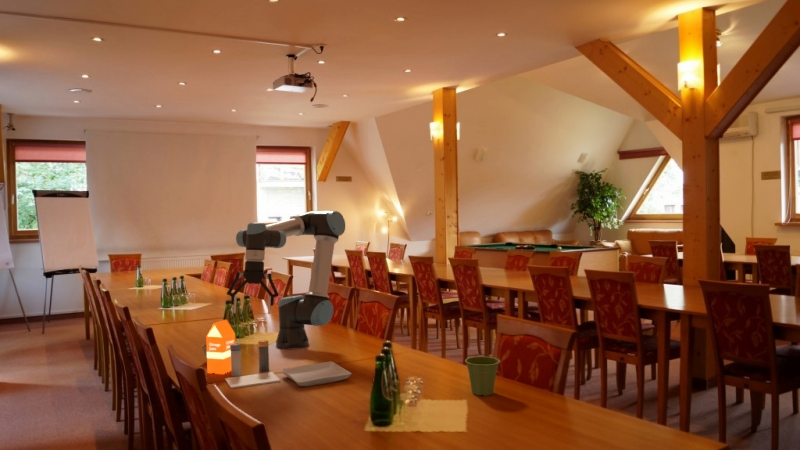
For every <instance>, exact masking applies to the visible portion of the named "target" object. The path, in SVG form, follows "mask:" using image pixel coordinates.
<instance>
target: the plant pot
mask: <svg viewBox="0 0 800 450" xmlns="http://www.w3.org/2000/svg"><path fill="white" fill-rule="evenodd" d="M464 362H465V363H466V368H467V370H468V376H469V382H470V388H471V394H473V395H476V396H485V397H487V396H492V395H493V394H494V390H495V385H496V384H495V383H496V379H497V373H498V368H499V364H500V363H501V360H500V359H499V358H496V357H491V356H483V355H482V356H471V357H467V358H466V359H465V360H464ZM491 394H492V395H491Z"/></svg>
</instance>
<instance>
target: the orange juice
mask: <svg viewBox="0 0 800 450" xmlns="http://www.w3.org/2000/svg"><path fill="white" fill-rule="evenodd" d="M205 340H206V343H205V344H207V358H206V367H207V371H206V372H207V374H212V373H215V375H225V373H226V374H228V373H230V372H231V351H230V345H231V344H236V333H235V331H234V330H233V328H232V326H231V324H230V323H229V321H228V320H227V319H223V320H221V321H217V322H214V323H213V324H212V326H211V328H210V329H209V331H208V332H207V335H206V336H205ZM227 372H228V373H227Z"/></svg>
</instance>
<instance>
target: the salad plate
mask: <svg viewBox="0 0 800 450" xmlns="http://www.w3.org/2000/svg"><path fill="white" fill-rule="evenodd" d="M280 371H281V372H282V374H283V375H284V376H286V377H287V378H289V379H291V380H292V382H294V383H295V384H297V385H298V386H300V387H310V386H312V387H313V386H318V385H324V384H330V383H335V382H339V381H343V380H346V379H348V378H349V377H350V376H351V375H352V372H351V371H349V370H347V369H345V368H344V367H342V366H340V365H338V364H337V363H335V362H334V361H326V362H318V363H312V364H305V365H300V366H294V367H288V368H284V369H281V370H280Z"/></svg>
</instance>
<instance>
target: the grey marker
mask: <svg viewBox="0 0 800 450" xmlns="http://www.w3.org/2000/svg"><path fill="white" fill-rule="evenodd" d="M230 351H231V371H230V372H231V375H230V376H231V377H239V376H243V375H242V374H243V373H242V352H241V351H242V344H241V343H235V344H231V345H230Z"/></svg>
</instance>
